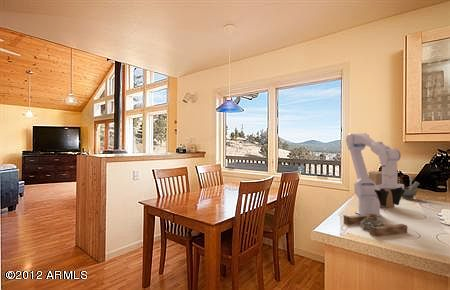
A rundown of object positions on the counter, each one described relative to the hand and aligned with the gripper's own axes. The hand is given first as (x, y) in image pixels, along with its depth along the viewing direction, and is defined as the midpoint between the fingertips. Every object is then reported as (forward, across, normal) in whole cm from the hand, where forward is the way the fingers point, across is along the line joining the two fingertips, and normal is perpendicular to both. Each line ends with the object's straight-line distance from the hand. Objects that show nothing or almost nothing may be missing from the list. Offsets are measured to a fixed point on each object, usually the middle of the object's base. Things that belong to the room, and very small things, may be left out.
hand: (389, 205), depth 104 cm
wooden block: (+10, +26, +28) cm, 40 cm away
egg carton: (+10, -10, 0) cm, 14 cm away
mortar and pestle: (+10, +58, +36) cm, 69 cm away
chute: (+9, -9, 0) cm, 13 cm away
